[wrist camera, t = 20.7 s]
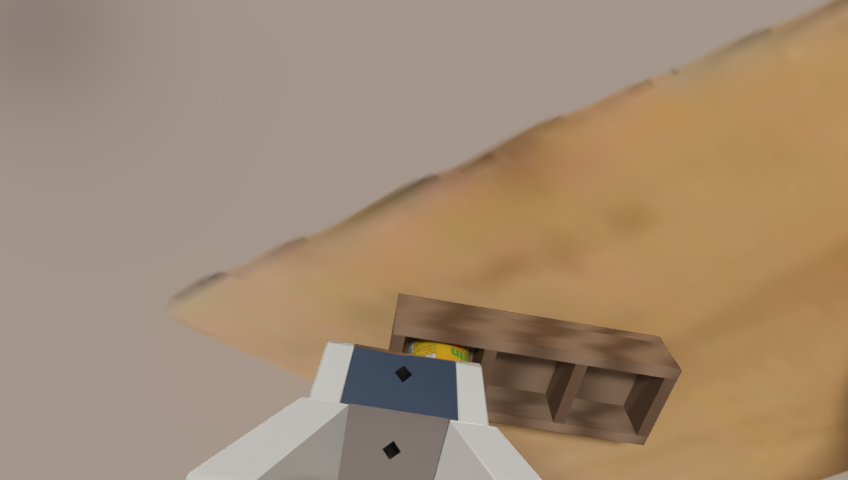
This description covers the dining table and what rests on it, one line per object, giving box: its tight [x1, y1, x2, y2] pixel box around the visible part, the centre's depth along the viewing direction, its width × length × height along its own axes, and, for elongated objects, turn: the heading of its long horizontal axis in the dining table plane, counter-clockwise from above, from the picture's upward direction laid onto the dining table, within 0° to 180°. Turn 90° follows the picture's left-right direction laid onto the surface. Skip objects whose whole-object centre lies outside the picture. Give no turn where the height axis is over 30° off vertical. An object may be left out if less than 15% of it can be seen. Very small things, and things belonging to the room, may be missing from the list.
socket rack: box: [389, 294, 682, 445], centre depth 43 cm, size 24×9×5 cm, turn 80°
